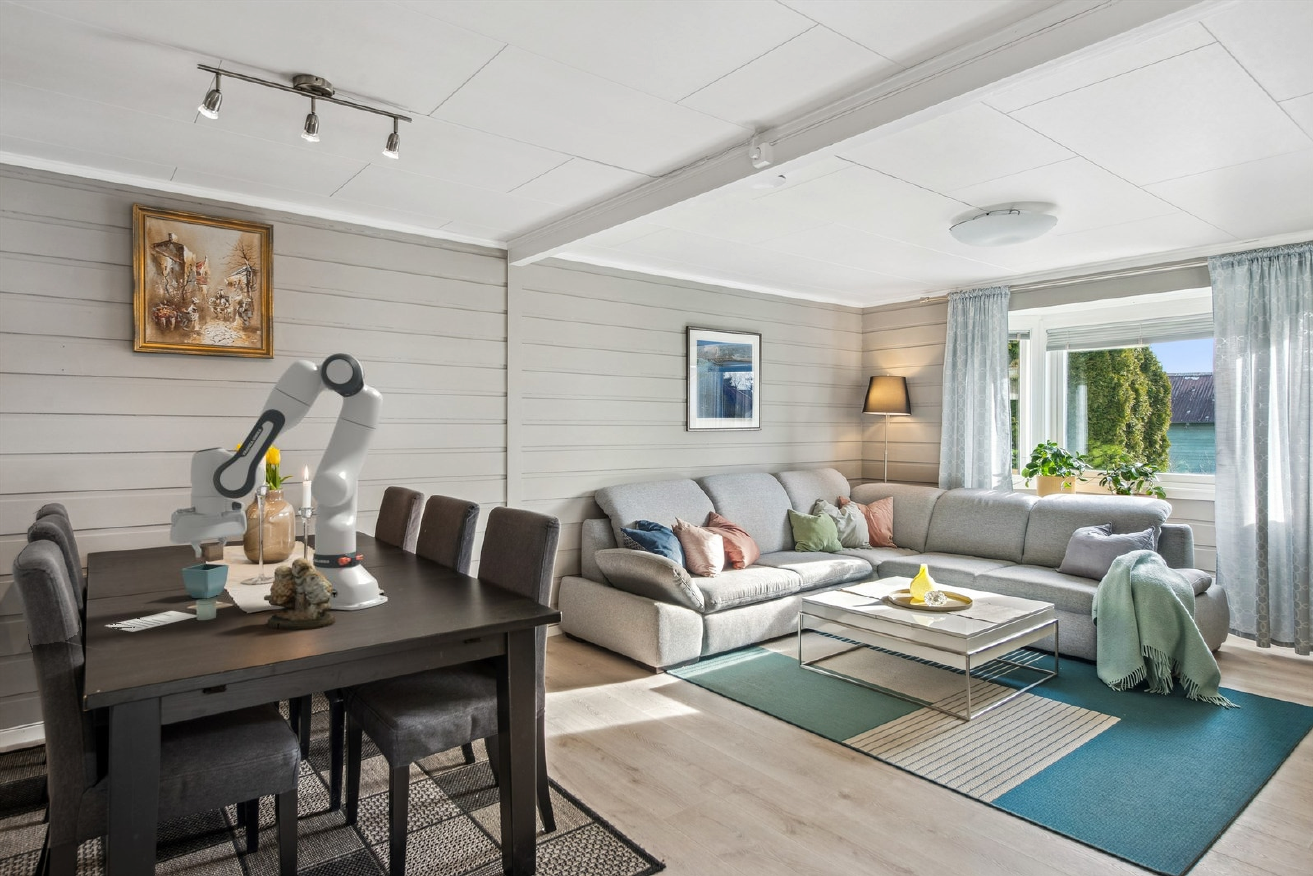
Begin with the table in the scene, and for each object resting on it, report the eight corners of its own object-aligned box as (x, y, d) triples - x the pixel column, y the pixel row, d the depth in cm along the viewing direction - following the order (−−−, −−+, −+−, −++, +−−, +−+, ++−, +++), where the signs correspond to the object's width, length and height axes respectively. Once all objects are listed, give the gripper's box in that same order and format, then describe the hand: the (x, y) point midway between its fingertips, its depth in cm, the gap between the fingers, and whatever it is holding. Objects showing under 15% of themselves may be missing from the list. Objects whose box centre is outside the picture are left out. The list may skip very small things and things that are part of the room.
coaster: (233, 606, 214) (233, 604, 214) (205, 612, 207) (205, 610, 207) (214, 603, 218) (214, 601, 218) (187, 609, 210) (187, 607, 210)
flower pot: (207, 601, 220) (206, 570, 220) (181, 599, 222) (180, 568, 222) (229, 594, 229) (229, 564, 229) (204, 592, 231) (204, 563, 230)
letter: (199, 617, 202) (199, 615, 202) (132, 633, 187) (132, 631, 187) (172, 611, 208) (172, 610, 208) (104, 626, 192) (104, 625, 192)
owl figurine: (252, 629, 191) (252, 562, 191) (278, 618, 203) (277, 554, 203) (322, 630, 190) (322, 562, 190) (344, 618, 202) (343, 554, 202)
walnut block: (223, 559, 212) (223, 545, 212) (209, 562, 209) (209, 547, 209) (209, 557, 215) (209, 543, 215) (195, 560, 211) (195, 545, 211)
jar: (220, 618, 201) (220, 599, 201) (203, 622, 197) (203, 603, 197) (209, 616, 203) (209, 597, 203) (192, 620, 199) (192, 601, 199)
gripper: (178, 510, 201) (179, 562, 201) (250, 503, 219) (250, 550, 219) (164, 509, 204) (164, 560, 204) (235, 501, 222) (236, 549, 222)
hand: (209, 555), depth 212 cm, fingers closed on walnut block, 4 cm apart
